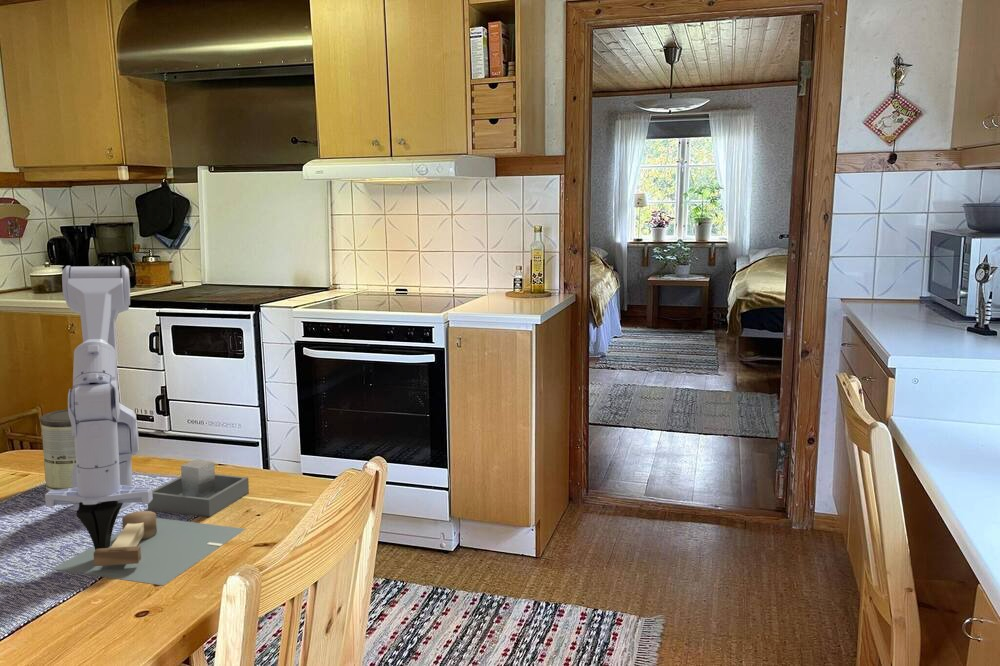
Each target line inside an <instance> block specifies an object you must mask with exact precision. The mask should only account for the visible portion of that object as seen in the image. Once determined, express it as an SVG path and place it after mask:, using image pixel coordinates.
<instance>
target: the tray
mask: <svg viewBox="0 0 1000 666" xmlns="http://www.w3.org/2000/svg"><path fill="white" fill-rule="evenodd" d="M249 490H250V489H249V477H248V476H239V475H238V476H236V475H227V474H218V473H215V495H213V496H211V497H209V498H201V497H192V496H183V495H182V478H181V476H179V477H177V478H174V479H173V480H172V479H171V481H168V482H166V483H164V484H163V485H160V486H159V487H156V488H155V489H152V496H153V499H152V500H151V502H150V503H149V504H147V511H152V512H160V513H161V512H162V513H170V514H179V515H187V516H194V517H195V516H196V517H204V518H211V517H213V516H215V515H216V514H218V513H219V512H221V511H223V510H224V509H226V508H227V507H230V506H231V505H232V504H234V503H235V502H237V501H239V500H241V499H243V498H244V497H245V496H247V495H249Z"/></svg>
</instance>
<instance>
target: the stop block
mask: <svg viewBox="0 0 1000 666" xmlns="http://www.w3.org/2000/svg"><path fill="white" fill-rule="evenodd" d="M215 471H216V470H215V462H214V461H209V460H202V459H194V460H192V461H188V462H187V463H184V464H181V465H180V474H181V478H182V495H183V496H192V497H201V498H209V497H211V496H213V495H215V474H216V472H215Z"/></svg>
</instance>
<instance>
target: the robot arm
mask: <svg viewBox="0 0 1000 666" xmlns="http://www.w3.org/2000/svg"><path fill="white" fill-rule="evenodd" d="M61 275H62V276H61V281H62V285H61V287H62V295H63V300H64V302H65V303H66V305H67V307H68V308H69V310H70V311H71V312H73V313H76V314H80V324H81V333H82V334H81V335H82V343H80V344H78V345H77V346H76V347H75V349H74V350H73V365H72V366H73V372H72V389H71V388H69V389H68V394H67V409H68V413H69V418H70V421H71V426H72V436H74V437H75V456H76V464H75V465H74V468H73V470H72V488H69V489H61V490H50V491H47V493H45V495H44V498H45V507H46V508H47V507H49V508H51V507H55V506H64V505H66V506H67V505H68V506H69V505H73V506H71V507H69V510H70V511H76V516H77V517H76V518H78V520H80V522H81V523H82V524H83V526H84V527H85V529H86V530H87V533H88V535H89V537H90V539H91V541H92V544H93V546H94V547H95V551H96V549H100V548H109V547H110V540H111V536H113V535H112V534H113V530H114V526H115V523H116V521H117V518H118V515H119V514H120V513H122V512H124V511H126V510H128V509H130V508H132V507H133V506H137V505H138V504H140V503H141V504H142V505H148V504H149V503H150V502H151V500H152V499H153V496H152V490H153V487H148V486H147V487H143V486H133V471H132V470H133V469H132V468H133V467H132V466H133V465H132V456H136V455H137V453H139V451H140V450H139V426H138V421H137V414H135V411H134V410H133V409H131V408H129V407H127V406H125V405H124V404H123V403H120V390H119V382H118V381H119V379H118V360H117V358H118V357H117V343H116V341H117V340H116V321H117V318H118V315H119V314H120V313H123V312H125V311H128V310H129V309H130V307H129V306H131V282H130V269H129V268H128V267H127V266H126V265H123V264H122V265H121V266H115V265H113V266H111V265H109V266H108V265H107V266H106V265H105V266H97V265H96V266H93V265H92V266H91V265H90V266H71V265H66V266H65V267H64V268H63V269H62V273H61Z"/></svg>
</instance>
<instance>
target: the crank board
mask: <svg viewBox="0 0 1000 666" xmlns="http://www.w3.org/2000/svg"><path fill="white" fill-rule="evenodd" d="M156 524H157V533H156V534H155V535H154V536H152V537H150V538H147V539H143V540H140V542H139V543H138V545H137V546H141V560H140V562H139V563H137V564H121V565H106V566H94V554H93V553H94V552H95V547H94V545H93V546H91V547H89V548H88V549H86V550H84V551H82V552H80V553H78V554H76V555H74V556H72V557H71V558H69V559H67V560H65V561H64V562H61V563H60V564H58V565H56V566H55V567H52V568H51V570H52V571H53V570H54V571H62V572H66V573H67V572H69V573H74V574H81V575H89V576H95V577H101V578H109V579H114V580H115V579H116V580H123V581H129V582H135V583H142V584H150V585H156V586H161V587H162V586H163V587H164V586H165V585H167V584H168V583H170V582H171V581H173V580H175V579H176V578H177V577H179V576H180V575H182V574H183V573H184V572H186V571H187V570H188V569H190V568H191V567H193V566H194V565H196V564H198V563H199V562H200V561H202V560H204V559H205V558H207V557H208V556H209V555H210V554H212V553H213V552H215V551H216V550H218V549H220V548H221V547H222V546H224V545H225V544H227V543H228V542H229V541H232V539H233V538H235V537H236V536H238V535H239V534H241V533H243V532H244V531H246V528H242V527H233V526H226V525H218V524H209V523H202V522H201V523H200V522H193V521H186V520H178V519H171V518H170V519H169V518H160V517H156ZM121 532H122V530H121V531H119V532H117V533H115V534H113V535H111V540H110V547H111V546H112V544H113V543H114V542H115V540H116V539H117V537H118V536H119V535H120V533H121ZM110 547H109V548H110Z"/></svg>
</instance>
